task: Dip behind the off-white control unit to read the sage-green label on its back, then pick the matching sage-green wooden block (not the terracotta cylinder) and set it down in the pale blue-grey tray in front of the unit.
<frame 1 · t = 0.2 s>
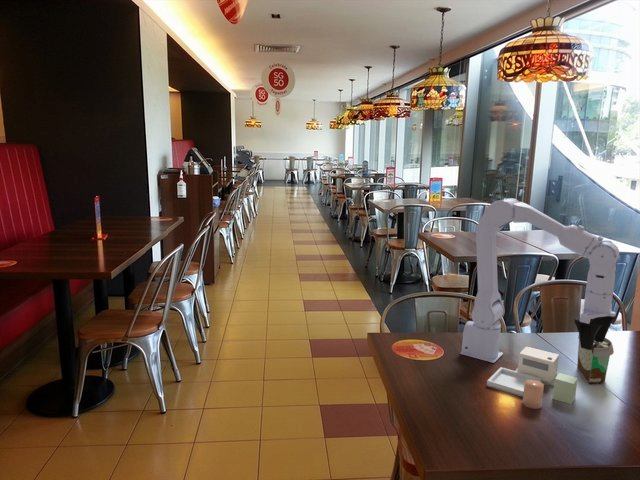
hand: (592, 344, 120), 10 cm above the table, tool pointing down, fingers open, 7 cm apart
tray: (514, 384, 120), on the table
terracotta part: (531, 404, 111), on the table
green part: (563, 398, 114), on the table
food container: (595, 378, 125), on the table, touching gripper
control unit: (536, 376, 125), on the table
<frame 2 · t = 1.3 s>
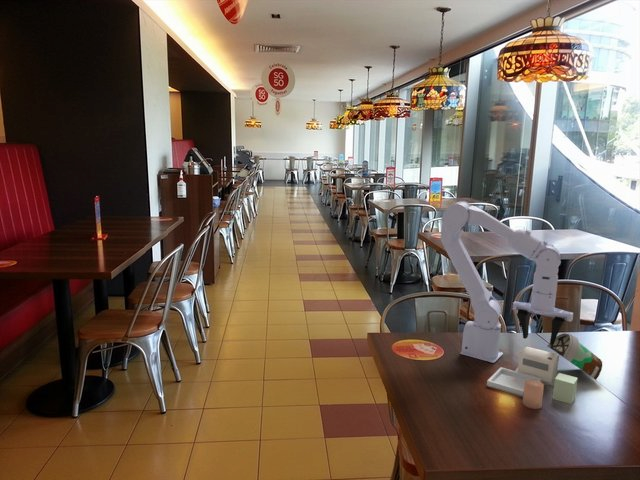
hand: (538, 340, 131), 7 cm above the table, tool pointing down, fingers open, 6 cm apart
food container: (595, 365, 125), point 3 cm above the table, touching control unit, gripper
everything else where it was.
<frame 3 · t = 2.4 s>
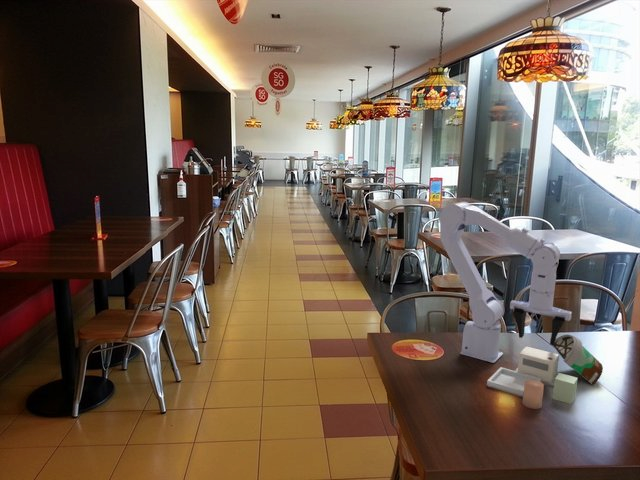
hand: (536, 340, 129), 8 cm above the table, tool pointing down, fingers open, 7 cm apart
food container: (596, 369, 125), point 2 cm above the table, touching control unit
everything else where it was.
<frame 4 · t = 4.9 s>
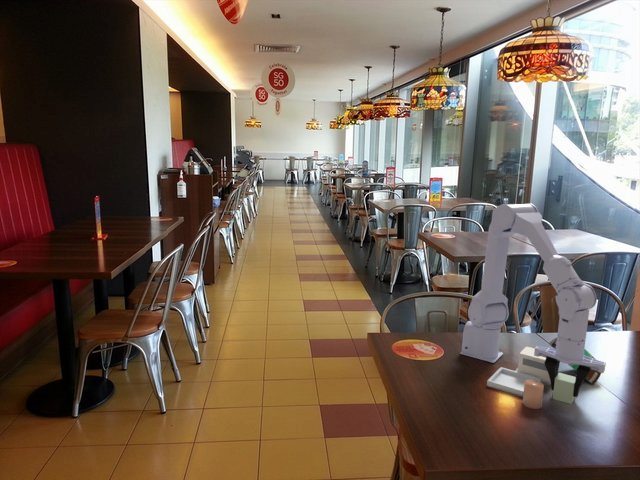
hand: (564, 392, 114), 1 cm above the table, tool pointing down, fingers closed on green part, 4 cm apart
green part: (563, 397, 114), on the table, touching gripper
everything else where it was.
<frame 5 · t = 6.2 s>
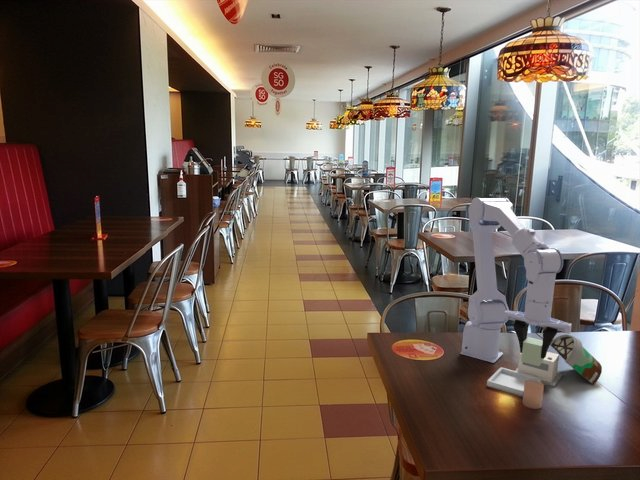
hand: (532, 354, 117), 9 cm above the table, tool pointing down, fingers closed on green part, 4 cm apart
green part: (532, 361, 117), point 7 cm above the table, touching gripper
everything else where it was.
when the fingers open (3 cm above the table, at t = 7.9 s): green part drops 1 cm, resting on tray.
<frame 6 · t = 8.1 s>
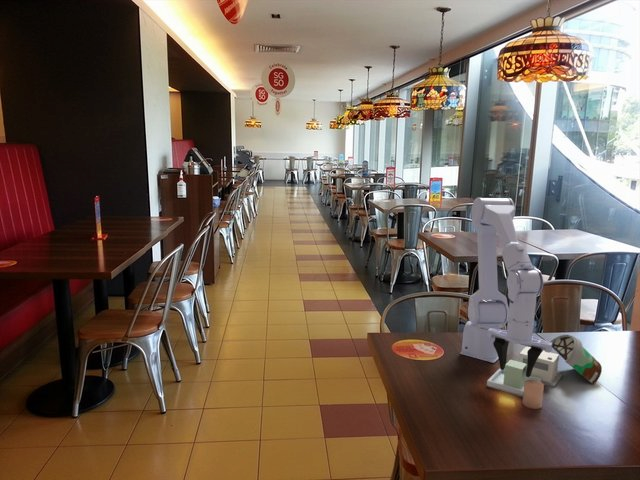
hand: (515, 371, 119), 3 cm above the table, tool pointing down, fingers open, 5 cm apart
green part: (514, 383, 120), resting on tray
everything else where it was.
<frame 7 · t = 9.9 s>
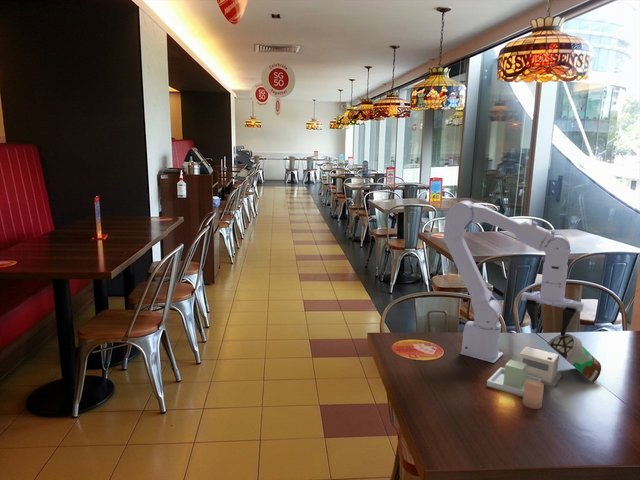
hand: (548, 331, 129), 10 cm above the table, tool pointing down, fingers open, 6 cm apart
food container: (593, 367, 125), point 2 cm above the table, touching gripper
everything else where it was.
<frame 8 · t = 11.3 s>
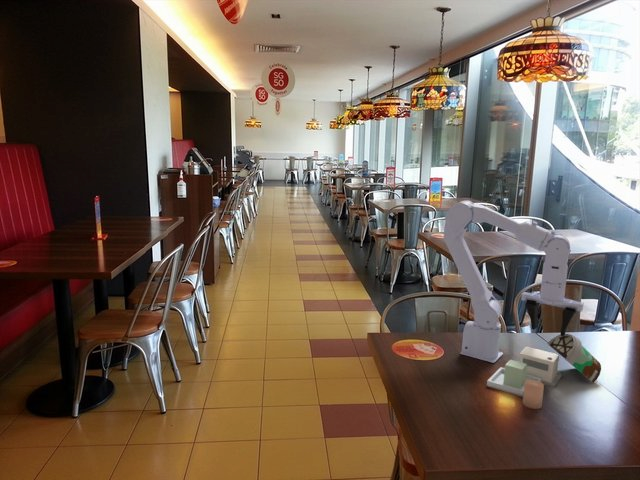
hand: (548, 331, 129), 10 cm above the table, tool pointing down, fingers open, 6 cm apart
nothing on the table moved.
at the end: green part inside the target area on the tray (0.1 cm from its centre), point 0.4 cm above the tray's base; green part tilted 0°; terracotta part moved 0.1 cm from its start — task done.
